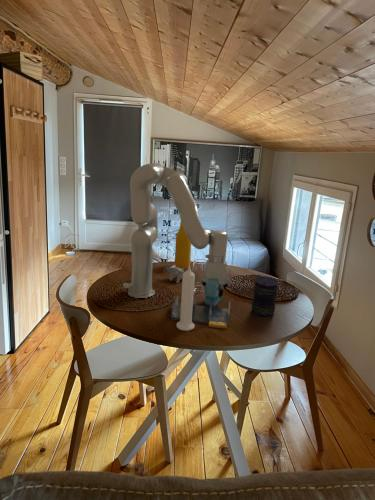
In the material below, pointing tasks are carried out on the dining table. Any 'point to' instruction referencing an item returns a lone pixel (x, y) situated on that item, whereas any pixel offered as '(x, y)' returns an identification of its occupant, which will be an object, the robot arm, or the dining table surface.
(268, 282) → the storage jar
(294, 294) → the dining table surface
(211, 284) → the data package
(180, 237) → the beer bottle
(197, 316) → the rack
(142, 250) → the robot arm
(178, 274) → the gray elephant figurine
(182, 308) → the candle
